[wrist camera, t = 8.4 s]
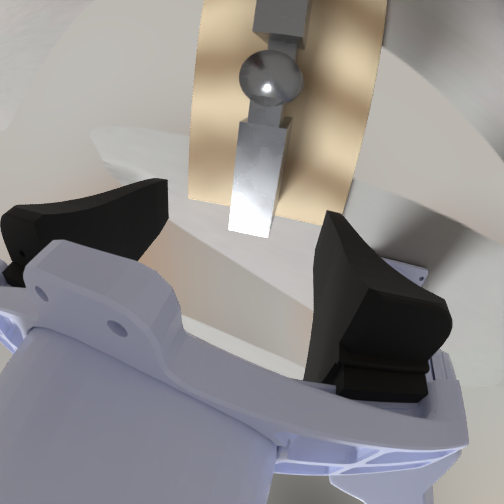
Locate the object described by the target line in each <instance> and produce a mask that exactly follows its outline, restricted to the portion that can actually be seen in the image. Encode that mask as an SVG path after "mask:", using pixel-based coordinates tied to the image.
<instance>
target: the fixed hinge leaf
mask: <svg viewBox="0 0 504 504" xmlns="http://www.w3.org/2000/svg"><path fill="white" fill-rule="evenodd" d="M311 7H312V0H257V1H256V8H255V15H254V21H253V28H252V32H254V33H255V34H256V35H257V36H258V37H260V38H261V39H262V40H263V41H264V42H266V43H267V44H268V48H267V50H277V51H280V52H283V53H285V54H287V55H288V56H290V57H291V58H292V59H293V60H294V61H295V62H296V64H297V57H298V51H299V49H303V50H305V47H306V41H307V34H308V27H309V20H310V14H311ZM301 73H302V71H301ZM302 77H303V82H302V87H301V89H300V91H299V93H298V94H297V95H296V96H295V97H294V98H293V99H291V100H290V101H288V102H291V101H292V100H294V99H295V98H297V97H298V96H299V95H300V93H301V92H302V90H303V88H304V76H303V73H302ZM288 102H287V103H288Z"/></svg>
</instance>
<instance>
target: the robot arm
mask: <svg viewBox="0 0 504 504" xmlns="http://www.w3.org/2000/svg"><path fill="white" fill-rule="evenodd" d="M168 218H169V214H168V180H166V179H159V178H152V179H147V180H143V181H139V182H136V183H133V184H130V185H126V186H123V187H120V188H117V189H114V190H111V191H107V192H104V193H101V194H97V195H93V196H89V197H84V198H80V199H75V200H69V201H63V202H56V203H47V204H30V205H16V206H14V207H13V208H11V209H10V210H9V211H7V212H6V213H5V214H3V215H2V217H1V222H0V227H1V232H2V236H3V239H4V242H5V244H6V247H7V250H8V252H9V255H10V257H11V260H12V261H13V262H12V263H11V264H10V265H9V266H8V265H7V264H6V263H5V262H4V261H3V260H1V259H0V342H1V343H2V344H3V345H4V346H5V347H6V348H7V349H8V350H9V351H10V352H11V353H13V356H12V357H11V358H10V360H9V362H8V363H7V365H6V366H5V368H4V369H3V371H2V372H1V374H0V504H266V503H267V499H268V495H269V490H270V486H271V482H272V477H273V473H281V474H294V475H329V479H330V483H331V484H332V485H334V486H335V487H337V488H339V489H340V490H342V491H344V492H346V493H348V494H350V495H351V496H353V497H355V498H358V499H359V500H361V501H363V502H364V503H365V504H434V503H433V484H434V483H435V482H436V481H437V480H438V479H439V478H441V477H442V476H443V475H444V474H445V473H446V472H447V470H449V468H450V467H451V466H452V465H453V464H454V463H455V462H456V461H457V459H458V458H459V457H460V455H461V452H462V448H464V447H466V446H467V445H468V444H469V438H468V429H467V421H466V415H465V409H464V403H463V398H462V392H461V387H460V383H459V380H457V379H456V375H455V372H454V368H453V365H452V362H451V359H450V356H449V354H448V353H446V352H444V351H442V350H441V349H439V348H440V347H441V346H442V345H443V344H444V342H445V341H446V339H447V338H448V337H449V335H450V332H451V330H452V318H451V315H450V312H449V309H448V307H447V304H446V301H445V299H443V298H441V297H439V296H437V295H435V294H433V293H431V292H429V291H427V290H425V289H424V288H422V287H421V286H422V285H423V283H424V281H425V279H426V278H427V276H428V270H427V269H426V268H423V267H419V266H415V265H411V264H407V263H403V262H399V261H395V260H391V259H387V258H382V257H380V256H379V255H378V254H376V253H375V252H374V251H373V250H372V249H371V248H370V246H369V245H368V244H367V243H366V242H365V241H364V240H363V239H362V238H361V237H360V236H359V234H358V233H357V232H356V231H355V230H354V228H353V227H352V226H351V225H350V223H349V222H348V221H347V220H346V219H345V217H344V216H343V215H342V214H341V213H338V212H333V211H329V210H326V214H325V218H324V221H323V225H322V228H321V232H320V235H319V238H318V242H317V245H316V248H315V256H314V265H313V286H314V313H313V324H312V331H311V339H310V345H309V352H308V358H307V364H306V368H305V374H304V379H303V380H297V379H292V378H288V377H285V376H283V375H280V374H278V373H275V372H273V371H270V370H268V369H266V368H263V367H261V366H258V365H256V364H254V363H251V362H249V361H247V360H245V359H242V358H240V357H238V356H236V355H233V354H231V353H229V352H227V351H225V350H223V349H221V348H218V347H216V346H214V345H212V344H210V343H208V342H206V341H204V340H202V339H200V338H198V337H196V336H194V335H192V334H190V333H188V332H186V331H185V330H184V328H183V324H182V318H181V308H180V304H179V302H178V300H177V297H176V295H175V292H174V290H173V288H172V287H171V285H170V284H169V283H168V282H167V281H166V280H165V279H164V278H162V276H161V275H160V274H159V273H158V272H157V271H155V270H154V269H152V268H150V267H148V266H146V265H144V264H142V263H139V262H138V260H139V259H140V257H141V256H142V255H143V254H144V252H145V251H146V250H147V249H148V247H149V246H150V245H151V244H152V242H153V241H154V240H155V239H156V238H157V236H158V235H159V234H160V232H161V230H162V229H163V227H164V225H165V224H166V222H167V220H168ZM420 277H422V278H420Z"/></svg>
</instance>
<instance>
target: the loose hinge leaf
mask: <svg viewBox="0 0 504 504" xmlns="http://www.w3.org/2000/svg"><path fill="white" fill-rule="evenodd" d="M302 82H303V77H302V73H301V70H300V68H299V67H298V65H297V64H296V62H295V61H294V60H293V59H292V58H291V57H290V56H288V55H287V54H285V53H283V52H280V51H277V50H262V51H259V52H256V53H254V54H252V55H251V56H249V57H248V58H247V59H246V60H245V61H244V63H243V64H242V66H241V69H240V72H239V83H240V87H241V89H242V91H243V93H244V94H245V95H246V96H247V97H248V98H249V99H250V104H249V112H248V117H247V118H245V119H243V120H242V121H240V122H239V130H238V139H237V148H236V158H235V168H234V178H233V188H232V198H231V209H230V220H229V230H233V231H237V232H242V233H247V234H252V235H256V236H261V237H266V238H268V236H269V233H270V229H271V226H272V222H273V219H274V216H275V212H276V209H277V205H278V201H279V196H280V190H281V185H282V179H283V174H284V168H285V163H286V157H287V151H288V146H289V140H290V134H291V128H292V122H293V118H292V117H287V116H284V115H285V109H286V103H287V102H288V101H290V100H291V99H293V98H294V97H295V96H296V95H297V94H298V93H299V91H300V89H301V87H302Z"/></svg>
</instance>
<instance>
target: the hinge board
mask: <svg viewBox="0 0 504 504" xmlns="http://www.w3.org/2000/svg"><path fill="white" fill-rule="evenodd" d="M256 1H257V0H204V3H203V9H202V16H201V23H200V30H199V38H198V47H197V55H196V64H195V75H194V86H193V98H192V112H191V130H190V149H189V182H188V199H194V200H199V201H205V202H210V203H216V204H221V205H226V206H231V198H232V188H233V178H234V168H235V158H236V148H237V139H238V130H239V122H240V121H242V120H243V119H245V118H247V117H248V112H249V104H250V99H249V98H248V97H247V96H246V95H245V94H244V93H243V91H242V89H241V87H240V83H239V72H240V69H241V66H242V64H243V63H244V61H245V60H246V59H247V58H248V57H249V56H251V55H252V54H254V53H256V52H259V51H262V50H267V48H268V44H267V43H266V42H264V41H263V40H262V39H261V38H260V37H258V36H257V35H256V34H255V33H254V32H252V28H253V21H254V15H255V8H256ZM386 8H387V0H312V7H311V14H310V20H309V27H308V34H307V41H306V47H305V50H303V49H299V51H298V57H297V65H298V67H299V68H300V70H301V71H302V73H303V76H304V88H303V90H302V92H301V93H300V95H299V96H298V97H297V98H295V99H294V100H292V101H291V102H288V103H286V109H285V115H284V116H287V117H292V118H293V122H292V128H291V134H290V140H289V146H288V151H287V157H286V163H285V168H284V174H283V179H282V185H281V190H280V196H279V201H278V205H277V209H276V212H275V215H276V216H281V217H285V218H290V219H294V220H299V221H303V222H308V223H312V224H317V225H321V226H322V225H323V221H324V218H325V214H326V210H329V211H333V212H338V213H341V214H342V213H343V209H344V206H345V203H346V199H347V196H348V193H349V189H350V186H351V182H352V179H353V175H354V171H355V168H356V164H357V160H358V156H359V152H360V148H361V144H362V140H363V136H364V132H365V128H366V123H367V119H368V115H369V110H370V106H371V101H372V96H373V91H374V86H375V81H376V75H377V69H378V65H379V59H380V52H381V46H382V39H383V32H384V25H385V16H386Z"/></svg>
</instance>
